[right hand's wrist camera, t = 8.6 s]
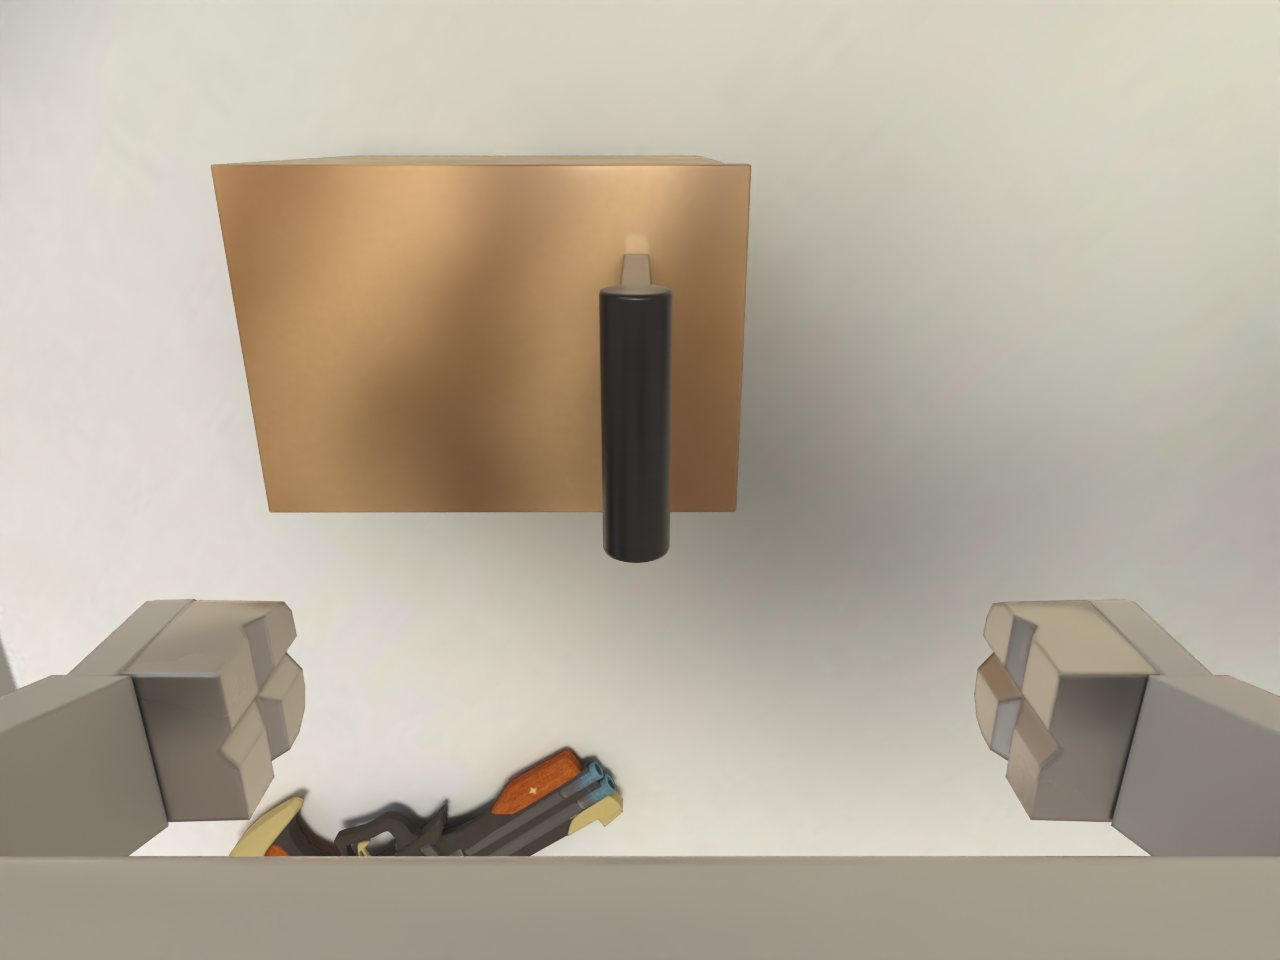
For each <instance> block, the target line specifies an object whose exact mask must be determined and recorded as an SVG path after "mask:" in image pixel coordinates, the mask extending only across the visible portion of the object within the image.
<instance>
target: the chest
mask: <svg viewBox="0 0 1280 960" xmlns="http://www.w3.org/2000/svg"><path fill="white" fill-rule="evenodd" d="M231 164H725V163H721V162H718V161H715V160H711V159H708V158H704V157H701V156H343V157H327V158H311V159H295V160H279V161H263V162H247V163H231Z"/></svg>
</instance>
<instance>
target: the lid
mask: <svg viewBox="0 0 1280 960" xmlns="http://www.w3.org/2000/svg"><path fill="white" fill-rule="evenodd" d="M211 170H212V176H213V182H214V188H215V194H216V200H217V206H218V212H219V217H220V223H221V229H222V235H223V241H224V247H225V253H226V259H227V265H228V270H229V276H230V282H231V288H232V294H233V300H234V306H235V312H236V318H237V323H238V329H239V335H240V341H241V347H242V353H243V359H244V365H245V371H246V377H247V382H248V388H249V394H250V400H251V406H252V412H253V418H254V424H255V430H256V435H257V441H258V447H259V453H260V459H261V465H262V471H263V477H264V483H265V488H266V494H267V500H268V506H269V511H270V512H603V548H604V550H605V552H606V554H607V555H609V556H610V557H612V558H614V559H616V560H619V561H624V562H632V563H641V562H649V561H653V560H656V559H659V558H661V557H663V556H664V555H665V554H666V553H667V551H668V549H669V536H670V512H735V511H736V504H737V481H738V458H739V435H740V412H741V389H742V366H743V343H744V320H745V297H746V275H747V252H748V229H749V206H750V183H751V165H749V164H215V165H211Z"/></svg>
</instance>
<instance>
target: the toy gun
mask: <svg viewBox="0 0 1280 960" xmlns="http://www.w3.org/2000/svg"><path fill="white" fill-rule="evenodd" d="M302 805H303V799H302V798H299V797H293V798H291V799H289V800H287V801H285V802H283V803H282V804H280V805H279V806H277V807H275V808H274V809H272V810H271V811H269V812H267V813H266V814H264V815H263V816H262V817H260V818H259V819H258V820H257V821H255V822H254V823H253V824H252V825H251V826H250V827H249V828H248V830H247V831H246V832H245V833H244V835H243V836H242V837H241V839H240V840H239V842H238V843H237V844H236V846H235V847H234V849H233V850H232V851H231V853H230V855H229V856H333V855H331V854H329V853H327V852H325V851H323V850H321V849H319V848H318V847H316V846H314V845H313V844H311V843H310V842H309V841H308V839H307V838H306V837H305V835H304V834H303V832H302V831H301V829H300V827H299V825H298V823H297V820H296V814H297V812H298V811H299V810H300V808H301V807H302ZM622 808H623V799H622V797H621V796H620V795H619V793H618V792H617V791H616V785H615V783H614V780H613V779H612V777H611V776H610V775H607V774H605V775H603V770H602V768H601V766H600V765H599V764H598V763H597V762H596V761H594V762H592V763H591V764H590V763H589V762H586V763H584V764H581V763H580V762H579V761H578V759H577V758H576V757H575V756H574V754H573V753H571V752H570V751H568V750H565V751H563V752H562V753H560V754H558V755H556V756H554V757H552V758H551V759H549V760H547V761H545V762H543V763H542V764H540V765H538V766H536V767H535V768H533V769H531V770H529V771H528V772H526V773H524V774H523V775H521V776H519V777H517V778H516V779H514V780H512V781H511V782H510V783H509V784H508V785H507V786H506V788H505V789H504V791H503V792H502V794H501V795H500V796H499V798H498V799H497V801H496V802H495V804H494V806H493V807H492V808H490V809H489V810H487V811H485V812H484V813H482V814H480V815H479V816H477V817H475V818H474V819H472V820H470V821H468V822H466V823H464V824H461V825H458V826H456V827H452V828H447V829H444V827H445V824H446V820H447V806H446V805H445V806H443V807H442V809H441V810H440V811H439V813H438V814H437V815H436V816H435V817H434V818H433V819H432V820H431V821H430V822H429V823H428V824H427V825H425V826H424V827H423V828H422V829H421V828H417V827H415V826H414V825H413V824H412V822H411V821H410V820H409V819H408V818H407V817H406V816H404V815H403V814H400V813H398V812H394V811H390V812H387V813H385V814H383V815H382V816H380V817H379V818H377V819H375V820H373V821H371V822H369V823H366V824H363V825H360V826H357V827H353V828H349V829H345V830H342V831H340V832H339V833H338V835H337V837H336V838H335V840H334V843H335V845H336V846H337V848H338V850H339V852H340V853H341V856H356V855H355V854H354V852H353V851H352V848H351V844H353V843H357V842H359V843H358V856H363V855H362V853H361V851H362V852H363V854H364V856H371V855H370V854H369V852H368V851H367V849H366V846H367V845H368V844H369V843H370V841H371V840H370V838H372V837H375V836H377V835H379V834H380V833H382V832H385V831H389V832H390V833H391V834H392V835H393V836H394V838H395V841H396V845H395V846H393V847H392V848H390V849H388V850H387V851H385V852H383V853H382V854H380V855H379V856H421V855H422V856H531V855H533V854H535V853H536V852H538V851H540V850H542V849H543V848H545V847H547V846H549V845H551V844H552V843H554V842H556V841H558V840H560V839H561V838H563V837H565V836H568V835H570V834H572V833H574V832H576V831H577V830H579V829H581V828H583V827H585V826H586V825H588V824H590V823H592V822H594V821H595V820H597V819H598V820H599V821H600V822H601V823H602V824H603V826H604V827H605V826H606V825H608V824H609V823H610V822H611V821H612V820H614V819H615V818H616V817H617V816H618V815H620V814H621V813H622V812H623V810H622ZM423 854H425V855H423Z"/></svg>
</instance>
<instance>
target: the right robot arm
mask: <svg viewBox="0 0 1280 960" xmlns="http://www.w3.org/2000/svg"><path fill="white" fill-rule="evenodd" d="M296 636H297V634H296V629H295V624H294V620H293V615H292V610H291V609H290V608H289V607H288V606H287V605H286V604H285V602H280V601H226V600H198V601H197V600H195V599H178V600H154V601H146V602H145V603H144V604H143V605H142V606H141V607H140V608H139V609H138V610H136V611H135V612H134V613H133V614H132V615H131V616H130V617H129V618H128V619H127V620H126V621H125V622H123V623H122V624H121V625H120V626H119V627H118V628H117V629H116V630H115V631H114V632H113V633H112V634H111V635H109V636H108V637H107V638H106V639H105V640H104V641H103V642H102V643H101V644H100V645H99V646H98V647H96V648H95V649H94V650H93V651H92V652H91V653H90V654H89V655H88V656H87V657H86V658H85V659H84V660H82V661H81V662H80V663H79V664H78V665H77V666H76V667H75V668H74V669H73V670H72V671H71V672H69V673H68V674H67V675H52V676H49V677H47V678H44V679H42V680H39V681H37V682H34V683H32V684H30V685H27V686H25V687H22V688H20V689H17V690H15V691H12V692H10V693H8V694H5V695H3V696H0V960H1280V696H1277V695H1275V694H1272V693H1270V692H1267V691H1265V690H1263V689H1260V688H1258V687H1255V686H1253V685H1250V684H1248V683H1246V682H1243V681H1241V680H1238V679H1236V678H1233V677H1231V676H1228V675H1213V674H1212V673H1211V672H1210V671H1208V670H1207V669H1206V668H1205V667H1204V666H1203V665H1202V664H1201V663H1200V662H1199V661H1198V660H1197V659H1196V658H1194V657H1193V656H1192V655H1191V654H1190V653H1189V652H1188V651H1187V650H1186V649H1185V648H1184V647H1183V646H1182V645H1180V644H1179V643H1178V642H1177V641H1176V640H1175V639H1174V638H1173V637H1172V636H1171V635H1170V634H1169V633H1168V632H1166V631H1165V630H1164V629H1163V628H1162V627H1161V626H1160V625H1159V624H1158V623H1157V622H1156V621H1155V620H1154V619H1152V618H1151V617H1150V616H1149V615H1148V614H1147V613H1146V612H1145V611H1144V610H1143V609H1142V608H1141V607H1140V606H1138V605H1137V604H1136V603H1135V602H1132V601H1129V600H1125V599H1109V600H1063V601H1022V602H1000V603H993V604H992V606H991V608H990V610H989V613H988V615H987V617H986V623H985V628H984V634H983V636H984V638H985V639H986V641H987V642H988V644H989V645H990V647H991V649H992V650H993V653H992V654H991V656H990V657H989V658H988V659H987V660H986V661H985V662H984V663H983V664H982V665H981V666H980V667H979V668H978V670H977V678H976V685H975V693H974V695H975V706H976V717H977V720H978V724H979V727H980V730H981V733H982V736H983V737H984V739H985V741H986V743H987V745H988V747H989V748H990V750H992V751H993V752H995V753H997V754H998V755H1000V756H1001V757H1003V758H1005V759H1006V760H1008V766H1007V772H1006V778H1007V780H1008V782H1009V783H1010V785H1011V787H1012V788H1013V790H1014V792H1015V794H1016V795H1017V797H1018V799H1019V800H1020V802H1021V804H1022V806H1023V807H1024V809H1025V811H1026V812H1027V814H1028V816H1029V818H1030V819H1031V820H1055V821H1092V822H1112V824H1111V826H1113V827H1114V828H1115V829H1117V830H1118V831H1119V832H1121V833H1122V834H1123V835H1125V836H1126V837H1127V838H1129V839H1130V840H1131V841H1133V842H1134V843H1135V844H1137V845H1138V846H1139V847H1141V848H1142V849H1143V850H1144V851H1146V852H1147V853H1148V854H1150V855H1151V856H129V855H130V854H132V853H133V852H134V851H136V850H137V849H138V848H140V847H141V846H142V845H144V844H145V843H146V842H148V841H149V840H150V839H152V838H153V837H154V836H156V835H157V834H158V833H160V832H161V831H162V830H164V829H165V828H166V827H168V822H187V821H223V820H249V819H250V818H251V816H252V814H253V813H254V811H255V809H256V807H257V806H258V804H259V802H260V801H261V799H262V797H263V795H264V794H265V792H266V790H267V788H268V787H269V785H270V783H271V782H272V780H273V778H274V772H273V766H272V760H274V759H275V758H277V757H279V756H280V755H282V754H283V753H285V752H287V751H288V750H290V748H291V746H292V745H293V743H294V741H295V739H296V737H297V735H298V733H299V731H300V727H301V723H302V718H303V714H304V710H305V683H304V676H303V670H302V668H301V667H300V666H299V665H298V664H297V663H296V662H295V661H294V660H293V659H292V658H291V657H290V656H289V655H288V653H287V650H288V649H289V647H290V645H291V644H292V642H293V641H294V639H295V638H296Z"/></svg>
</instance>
